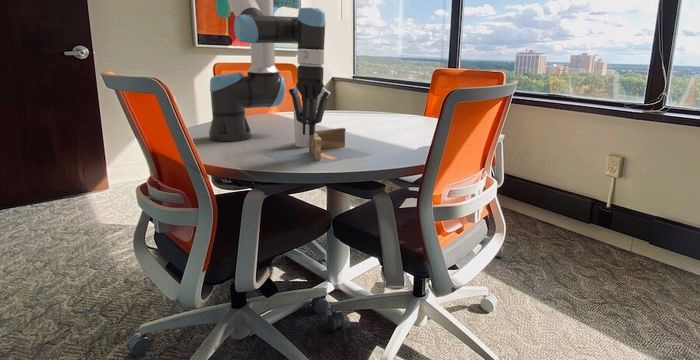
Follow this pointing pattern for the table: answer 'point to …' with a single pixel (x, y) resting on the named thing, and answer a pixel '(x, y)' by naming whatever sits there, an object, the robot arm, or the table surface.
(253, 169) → the table surface
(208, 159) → the table surface
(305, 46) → the robot arm
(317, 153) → the wooden board
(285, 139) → the table surface
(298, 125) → the mug
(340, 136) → the base
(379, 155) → the table surface
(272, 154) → the card
